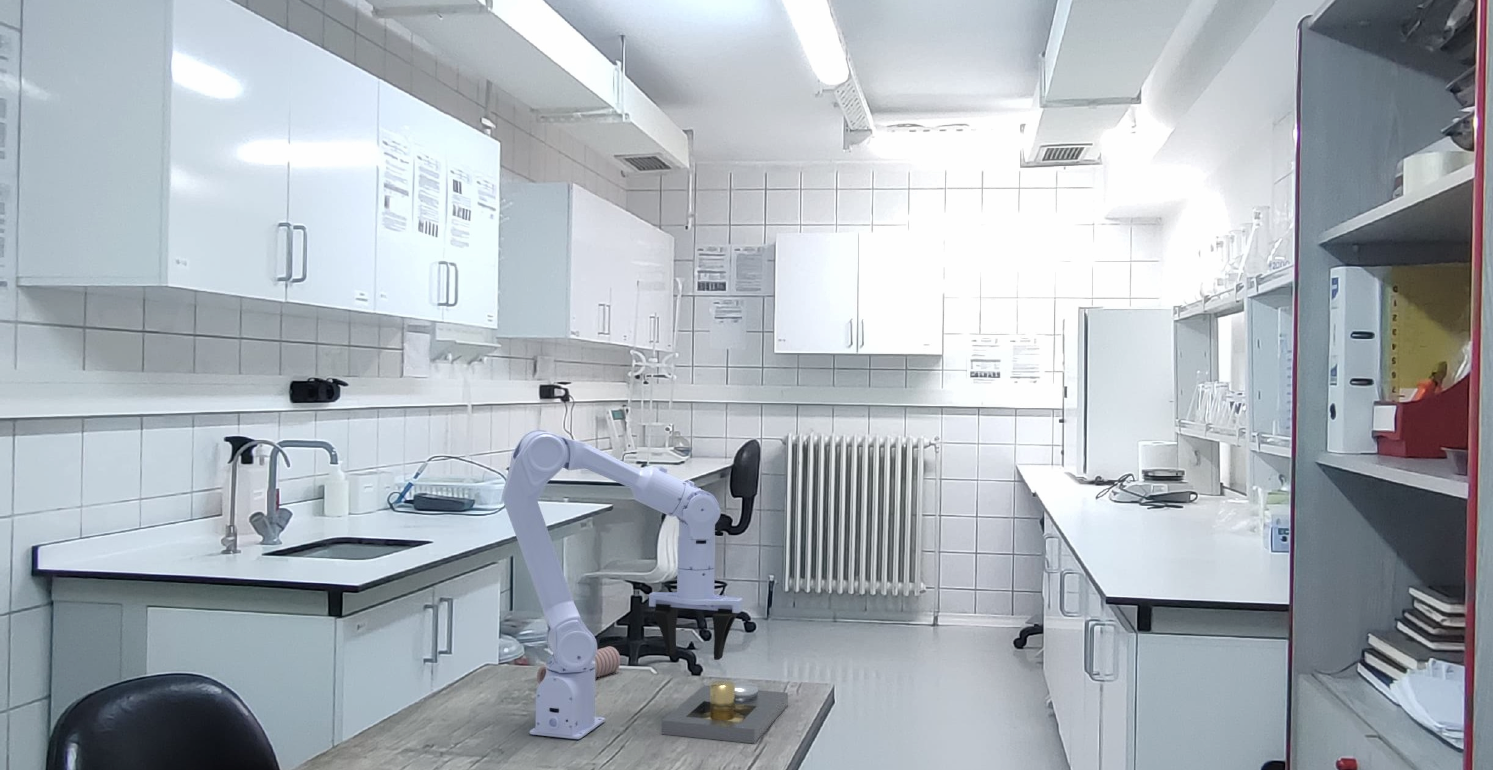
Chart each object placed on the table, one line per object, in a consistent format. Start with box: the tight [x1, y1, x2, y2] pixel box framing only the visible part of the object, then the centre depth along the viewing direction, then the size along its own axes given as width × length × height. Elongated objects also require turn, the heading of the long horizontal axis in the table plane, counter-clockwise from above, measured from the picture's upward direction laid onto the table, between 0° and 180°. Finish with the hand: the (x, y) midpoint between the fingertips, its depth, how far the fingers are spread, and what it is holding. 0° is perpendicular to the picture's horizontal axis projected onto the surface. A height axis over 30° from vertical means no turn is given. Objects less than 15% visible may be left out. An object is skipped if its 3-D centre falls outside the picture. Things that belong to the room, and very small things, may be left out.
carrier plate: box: [661, 680, 789, 744], centre depth 167 cm, size 20×14×4 cm
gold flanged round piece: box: [700, 680, 745, 722], centre depth 165 cm, size 6×6×6 cm
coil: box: [536, 645, 621, 685], centre depth 188 cm, size 5×5×18 cm
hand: (694, 656), depth 168 cm, fingers open, 7 cm apart
